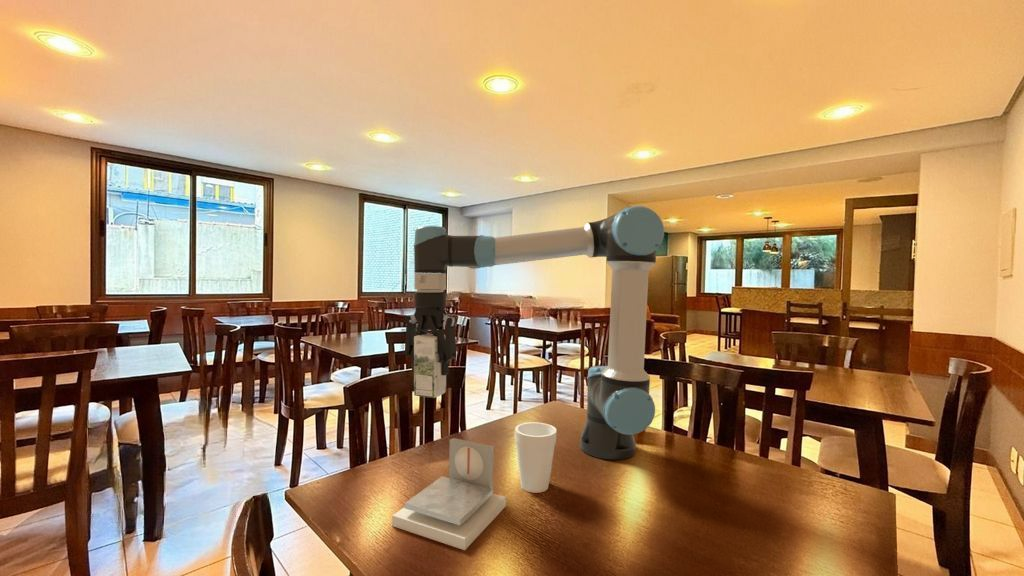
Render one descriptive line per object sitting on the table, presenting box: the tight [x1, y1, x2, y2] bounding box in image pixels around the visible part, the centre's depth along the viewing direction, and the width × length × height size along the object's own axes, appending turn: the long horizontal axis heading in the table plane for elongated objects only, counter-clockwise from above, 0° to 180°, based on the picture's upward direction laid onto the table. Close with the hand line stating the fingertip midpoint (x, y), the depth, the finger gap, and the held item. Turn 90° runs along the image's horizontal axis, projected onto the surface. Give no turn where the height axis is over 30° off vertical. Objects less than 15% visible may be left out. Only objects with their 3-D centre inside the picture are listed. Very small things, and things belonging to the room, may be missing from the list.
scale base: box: [391, 437, 507, 551], centre depth 85 cm, size 16×16×12 cm
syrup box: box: [413, 333, 447, 399], centre depth 104 cm, size 6×6×14 cm
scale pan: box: [404, 476, 494, 525], centre depth 84 cm, size 12×12×1 cm
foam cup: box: [514, 421, 558, 494], centre depth 98 cm, size 10×9×13 cm
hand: (429, 386), depth 104 cm, fingers closed on syrup box, 6 cm apart
